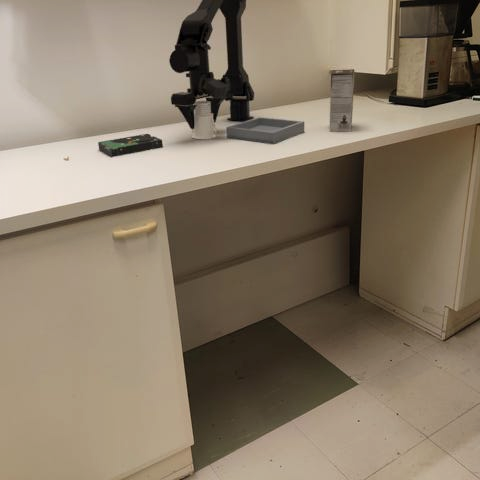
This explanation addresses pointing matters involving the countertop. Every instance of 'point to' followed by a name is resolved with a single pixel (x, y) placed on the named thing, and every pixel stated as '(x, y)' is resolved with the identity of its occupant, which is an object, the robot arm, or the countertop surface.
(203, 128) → the downlight
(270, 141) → the tray
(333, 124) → the coffee box
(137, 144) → the disk drive
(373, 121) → the countertop surface
